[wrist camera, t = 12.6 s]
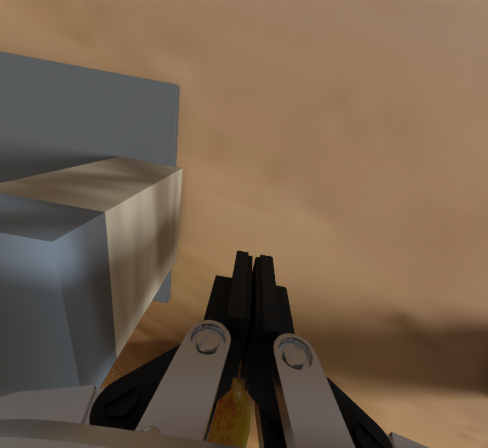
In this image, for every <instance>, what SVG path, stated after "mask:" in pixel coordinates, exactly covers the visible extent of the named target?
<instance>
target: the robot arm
mask: <svg viewBox="0 0 488 448" xmlns="http://www.w3.org/2000/svg"><path fill="white" fill-rule="evenodd" d="M241 357H242V359H241ZM240 361H241V374H240V378H241V379H245V390H248V393H249V394H250V396H251V397H252V398H253V400H254V401H255V415H256V424H257V432H258V440H259V448H429V447H426V446H424V445H422V444H419V443H417V442H414V441H412V440H410V439H407V438H405V437H402V436H400V435H398V434H395V433H393V432H391V433H390V434H389V435H388V434H386V433H385V432H384V431H383V430H382V429H381V428H380V427H379V426H378V424H377V423H376V422H375V421H374V420H372V419H371V418H370V417H369V416H368V415H367V414H366V413H365V412H364V411H363V410H362V409H361V408H360V407H359V406H357V405H356V404H355V403H354V402H353V401H352V400H351V399H350V398H349V397H348V396H347V395H346V394H345V393H344V392H343V391H341V390H340V389H339V388H338V387H337V386H336V385H335V384H334V383H333V382H332V381H331V380H330V379H329V378H328V377H326V375H325V373H324V371H323V368H322V366H321V363H320V361H319V358H318V356H317V354H316V352H315V350H314V348H313V346H312V345H311V344H310V343H309V342H308V341H307V340H305V339H304V338H302V337H301V336H298V335H296V334H295V333H294V327H293V322H292V316H291V311H290V306H289V300H288V295H287V290H286V288H285V287H282V286H276V282H275V274H274V265H273V258H272V257H271V256H266V255H260V258H259V257H256V258H255V262H254V266H253V271H252V256H248V252H243V251H237V254H236V260H235V265H234V271H233V276H232V278H229V277H223V276H218V275H216V277H215V280H214V284H213V288H212V292H211V295H210V299H209V303H208V306H207V310H206V314H205V317H204V320H203V321H200V322H197V323H195V324H194V325H193V326H191V327H190V329H189V330H188V331H187V333H186V335H185V337H184V339H183V341H182V343H181V344H180V345H178V346H177V347H175V348H173V349H171V350H170V351H168V352H166V353H164V354H162V355H161V356H159V357H157V358H155V359H153V360H152V361H150V362H148V363H146V364H144V365H143V366H141V367H139V368H137V369H136V370H134V371H132V372H130V373H128V374H127V375H125V376H123V377H121V378H119V379H118V380H116V381H114V382H113V383H111V384H110V385H108V386H107V387H106V388H96V386H95V385H87V386H76V387H65V388H54V389H42V390H31V391H20V392H16V393H11V394H8V395H5V396H3V397H1V398H0V448H244V447H238V446H231V445H225V444H218V443H212V442H207V441H208V437H209V433H210V430H211V426H212V423H213V419H214V415H215V412H216V408H217V405H218V400H219V399H220V398H222V397H223V396H224V395H225V394H226V393H227V392H229V391H230V390H231V385H232V381H233V378H236V377H237V373H238V369H239V365H240Z"/></svg>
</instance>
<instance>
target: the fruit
mask: <svg viewBox="0 0 488 448" xmlns="http://www.w3.org/2000/svg"><path fill="white" fill-rule="evenodd" d="M249 431H250V412H249V404H248V400H247V397H246V394H245V392H244V389H243V387H242V385H241V384H240V382H239V380H238V379H237V378H233V381H232V385H231V390H230V391H229V392H227V393H226V394H225V395H224V396H223V397H222V398H220V399H219V400H218V405H217V408H216V412H215V415H214V419H213V423H212V426H211V430H210V433H209V437H208V441H207V442H212V443H218V444H225V445H231V446H238V447H244V448H246V444H247V440H248V436H249Z"/></svg>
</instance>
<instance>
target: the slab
mask: <svg viewBox="0 0 488 448" xmlns="http://www.w3.org/2000/svg"><path fill="white" fill-rule="evenodd" d="M181 184H182V168H179V167H174V166H168V165H163V164H158V163H152V162H147V161H142V160H136V159H131V158H126V157H115V158H111V159H107V160H102V161H98V162H93V163H89V164H84V165H80V166H75V167H71V168H66V169H62V170H57V171H53V172H48V173H44V174H39V175H35V176H30V177H26V178H21V179H17V180H12V181H8V182H4V183H0V398H1V397H3V396H5V395H8V394H11V393H16V392H20V391H31V390H42V389H54V388H65V387H76V386H87V385H95V386H96V388H100V386H101V384H102V383H103V381H104V379H105V378H106V376H107V374H108V373H109V371H110V369H111V368H112V366H113V364H114V363H115V361H116V359H117V358H118V356H119V355H120V353H121V351H122V350H123V348H124V346H125V345H126V343H127V341H128V340H129V338H130V336H131V335H132V333H133V331H134V330H135V328H136V326H137V325H138V323H139V321H140V320H141V318H142V316H143V315H144V313H145V311H146V310H147V308H148V306H149V305H150V303H151V301H152V300H153V298H154V296H155V295H156V293H157V291H158V290H159V288H160V286H161V285H162V283H163V281H164V280H165V278H166V276H167V275H168V273H169V272H170V270H171V268H172V267H173V265H174V263H175V262H176V260H177V245H178V230H179V214H180V199H181Z"/></svg>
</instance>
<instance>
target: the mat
mask: <svg viewBox="0 0 488 448" xmlns="http://www.w3.org/2000/svg"><path fill="white" fill-rule="evenodd" d="M179 87H180V86H178V85H176V84H170V83H165V82H160V81H154V80H149V79H143V78H138V77H133V76H127V75H122V74H117V73H111V72H106V71H101V70H95V69H90V68H85V67H79V66H74V65H69V64H63V63H58V62H53V61H47V60H42V59H36V58H31V57H26V56H20V55H15V54H10V53H4V52H0V183H4V182H8V181H12V180H17V179H21V178H26V177H30V176H35V175H39V174H44V173H48V172H53V171H57V170H62V169H66V168H71V167H75V166H80V165H84V164H89V163H93V162H98V161H102V160H107V159H111V158H115V157H126V158H131V159H136V160H142V161H147V162H152V163H158V164H163V165H168V166H174V167H176V153H177V131H178V109H179ZM170 286H171V270H170V272H169V273H168V275H167V276H166V278H165V280H164V281H163V283H162V285H161V286H160V288H159V290H158V291H157V293H156V295H155V296H154V298H153V301H159V302H165V303H168V301H169V299H170Z"/></svg>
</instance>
